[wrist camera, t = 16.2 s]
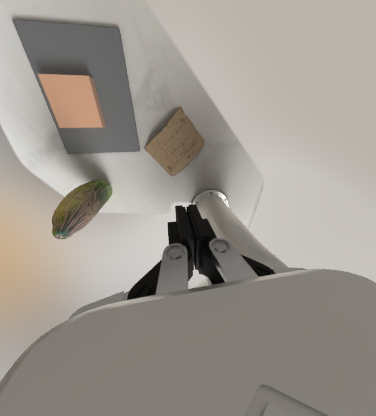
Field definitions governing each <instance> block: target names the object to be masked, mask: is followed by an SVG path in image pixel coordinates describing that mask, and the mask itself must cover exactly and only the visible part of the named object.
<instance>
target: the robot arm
mask: <svg viewBox="0 0 376 416" xmlns="http://www.w3.org/2000/svg"><path fill="white" fill-rule="evenodd" d="M210 192H211V193H210ZM195 201H196V202H195ZM175 208H176V222H168V236H169V246H167V247H166V248H165V250H164V252H163V256H162V260H161V261H160V262H159V263H158V264H157V265H155V266H154V267H153V268H152V269H151V270H150V271H149V272H148V273H147V274H146V275H145V276H144V277H143V278H142V279H140V280H139V281H138V282H137V283H136V284H135V285H134V286H133V288H132V289H131V290H130V291H128V292H126V293H124V291H123V292H120V293H117V294H115V295H112V296H110V297H107V298H104V299H102V300H99V301H96V302H94V303H91V304H88V305H86V306H84V307H82V308H80V309H78V310H77V311H76V312H74V313H73V314H72V316H71V317H70V318H69V319H68V320H66V321H65V322H63V323H61V324H59V325H57V326H56V327H54V328H52V329H51V330H49V331H48V332H46V333H45V334H44V335H42V336H41V337H40V338H38V339H37V340H36V341H35V342H34V343H32V344H31V346H29V347H28V349H26V350H25V351H24V353H23V354H22V355H21V356H20V357H19V358H18V359H17V361H16V362H15V363H14V364H13V366H12V367H11V368H10V370H9V371H8V372H7V373H6V375H5V376H4V378H3V379H2V380H1V382H0V416H376V283H375V282H373V281H371V280H369V279H367V278H365V277H363V276H359V275H356V274H352V273H349V272H344V271H338V270H329V269H310V270H308V269H303V268H288V267H287V266H286V265H285V264H284V263H283V262H282V261H281V260H279V259H278V258H277V257H276V256H275V255H274V254H272V253H271V252H270V251H269V250H268V249H266V248H265V247H264V246H263V245H262V244H261V243H260V242H259V241H258V240H257V239H256V238H255V237H254V236H253V235H252V234H251V233H250V232H249V230H248V229H247V228H246V227H245V226H244V225H243V223H242V222H241V221H240V220H239V219H238V218H237V217H236V215H235V214H234V213H233V212H232V211H231V210H230V208H229V207H228V200H227V198H226V196H225V195H224V194H223V193H222V192H220V191H218V190H207V191H204V192H202V193H200V194H199V195H197V196H196V197H195V199H194V200H193V202H192V204H191V205H189V207H187V212H186V209H185V207H182V206H176V207H175ZM194 265H195V269H196V270H198V271H199V274H203V275H205V276H206V279H205V280H204V281H202V282H201V283H199V284H198V285H197V286H196V287H195V288H192V289H188V281H189V280H190V278H191V277H192V276H193V270H194Z"/></svg>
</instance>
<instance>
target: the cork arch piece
mask: <svg viewBox="0 0 376 416" xmlns="http://www.w3.org/2000/svg"><path fill="white" fill-rule="evenodd" d="M203 145H204V140H203V138H202V137H201V136H200V134H199V133H198V131H197V130H196V128H195V127H194V126H193V124H192V123H191V121H190V120H189V119H188V117H187V116H186V115H185V113H184V111H183V110H182V107H180V108H179V110H178V111H177V113H175V114H174V115H173V117H172V118H171V119H170V120H169V122H168V124H167V126H166V127H164V128H163V130H162V131H161V132H159V134H158V135H157V136H155V138H153V139H152V140H151V141H150V142H149V144H148V145H147V146H146V148H145V150H146V151H147V152H148V153H149V154H150V155H151V156H152V157H153V158H154V159H155V160H156V161H157V162H158V163H159V164H160V165H161V166H162V167H163V168H164V169H165V170H166V171H167V172H168V173H169V174H170V175H171V176H174V175H176V174H177V173H178V172H179V171H181V170H182V169H183V168H184V167H185V166H186V165H188V164H189V162H190V161H191V160H192V159H193V158H194V157H195V156H196V154H197V153H198V152H199V151H200V149H201V147H202V146H203Z"/></svg>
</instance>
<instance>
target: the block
mask: <svg viewBox="0 0 376 416" xmlns="http://www.w3.org/2000/svg"><path fill="white" fill-rule="evenodd" d="M38 76H39V79H40V81H41V83H42V86H43V88H44V91H45V93H46V96H47V98H48V101H49V103H50V106H51V108H52V111H53V113H54V115H55V118H56V120H57V123H58V125H59V128H106V125H105V121H104V117H103V114H102V110H101V106H100V102H99V98H98V94H97V91H96V87H95V83H94V79H92V78H91V77H90V76H83V75H57V74H38Z"/></svg>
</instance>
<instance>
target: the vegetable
mask: <svg viewBox="0 0 376 416" xmlns="http://www.w3.org/2000/svg"><path fill="white" fill-rule="evenodd" d="M111 194H112V187H111V185H110V184H109V183H108V182H106V181H103V180H95V181H91V182H88V183H85V184H83V185H81V186H79V187H77V188H75V189H74V190H73V191H71V192H70V193H69V194H68V195H67V196H66V197H65V198H64V199H63V201H61V203H60V204H59V205H58V207H57V209H56V210H55V212H54V214H53V217H52V224H53V229H52V233H53V235H54V237H56V238H58V239H66V238H68V237H70V236H71V235H73V234H74V233H76V232H77V231H79V230H81V229H82V228H83V227H85V226H86V225H87V224H88V223H89V222H90V221H91V220H92V218H93V217H94V216H95V215H96V214H97V213H98V211H99V210H100V209H101V208H102V207H103V205H104V204H105V203H106V202H107V201H108V200H109V198H110V197H111Z"/></svg>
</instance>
